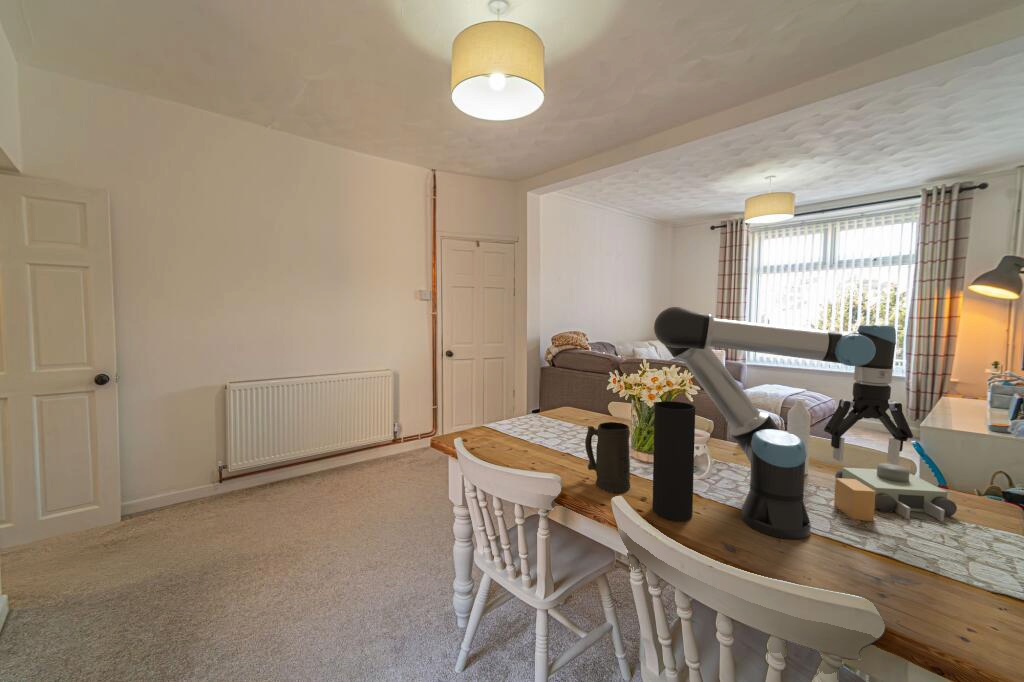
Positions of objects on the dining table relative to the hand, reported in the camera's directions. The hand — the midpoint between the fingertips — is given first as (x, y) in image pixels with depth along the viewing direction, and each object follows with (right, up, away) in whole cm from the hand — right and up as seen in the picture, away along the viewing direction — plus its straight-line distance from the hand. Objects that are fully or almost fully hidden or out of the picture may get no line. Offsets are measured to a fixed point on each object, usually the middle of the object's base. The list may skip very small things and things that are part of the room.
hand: (864, 461), depth 110 cm
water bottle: (+4, -13, +32) cm, 35 cm away
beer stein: (-65, -14, +22) cm, 70 cm away
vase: (-51, -15, +3) cm, 53 cm away
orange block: (-1, -15, +3) cm, 15 cm away
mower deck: (+16, -14, +9) cm, 24 cm away
